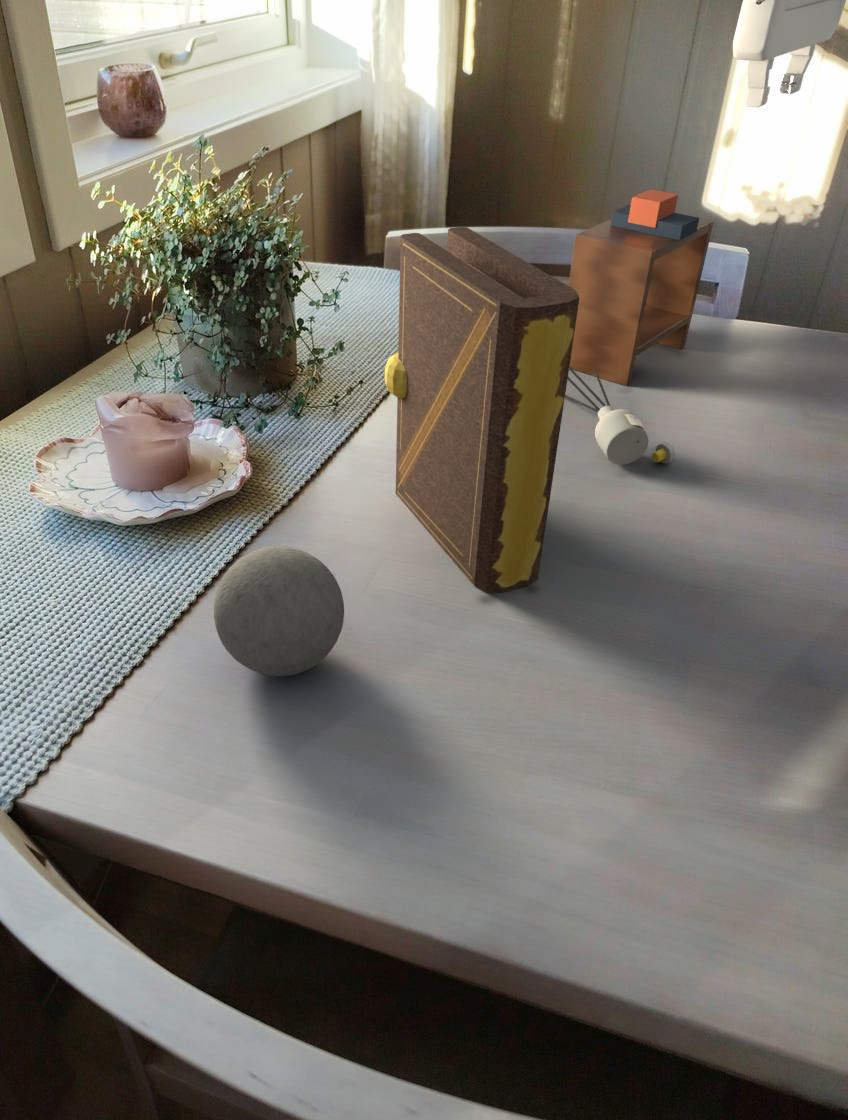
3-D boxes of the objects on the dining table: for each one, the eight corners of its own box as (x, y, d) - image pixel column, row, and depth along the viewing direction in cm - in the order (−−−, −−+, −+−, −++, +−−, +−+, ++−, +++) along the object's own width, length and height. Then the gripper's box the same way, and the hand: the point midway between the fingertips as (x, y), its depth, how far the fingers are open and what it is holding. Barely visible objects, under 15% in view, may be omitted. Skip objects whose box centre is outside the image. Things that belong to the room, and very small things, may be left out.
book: (556, 577, 80) (603, 296, 64) (472, 600, 78) (499, 313, 62) (446, 465, 96) (462, 216, 80) (374, 481, 94) (374, 227, 77)
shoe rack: (684, 347, 120) (714, 220, 110) (626, 386, 111) (652, 251, 101) (618, 329, 125) (640, 205, 115) (557, 364, 116) (575, 234, 106)
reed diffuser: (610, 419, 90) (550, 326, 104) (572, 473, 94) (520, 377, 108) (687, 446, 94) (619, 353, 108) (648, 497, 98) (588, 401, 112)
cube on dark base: (696, 231, 106) (704, 199, 104) (679, 240, 104) (686, 207, 101) (628, 217, 111) (634, 186, 108) (610, 226, 108) (615, 193, 106)
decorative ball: (201, 689, 69) (183, 586, 63) (248, 612, 77) (236, 512, 70) (323, 713, 67) (318, 609, 61) (359, 632, 75) (358, 531, 68)
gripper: (801, -54, 82) (763, 117, 91) (874, -66, 94) (834, 88, 103) (734, -54, 85) (704, 111, 94) (813, -65, 97) (779, 83, 106)
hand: (772, 99), depth 99 cm, fingers open, 8 cm apart
